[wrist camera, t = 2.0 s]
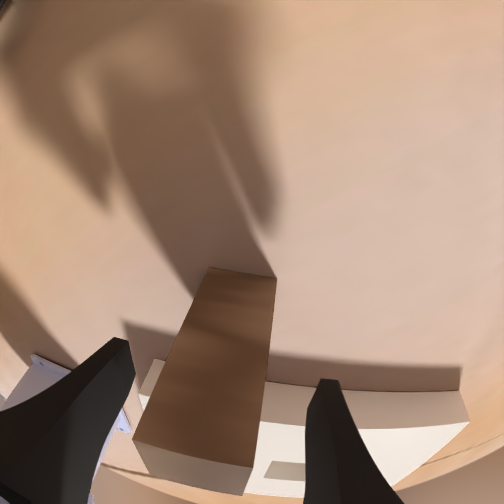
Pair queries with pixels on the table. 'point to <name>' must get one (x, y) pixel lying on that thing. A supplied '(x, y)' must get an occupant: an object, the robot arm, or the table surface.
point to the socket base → (367, 422)
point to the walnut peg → (212, 387)
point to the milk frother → (2, 3)
